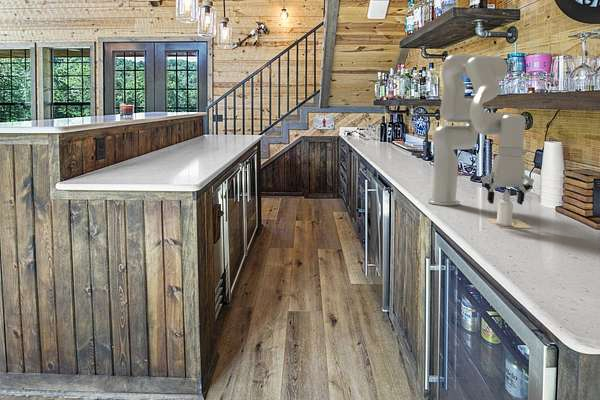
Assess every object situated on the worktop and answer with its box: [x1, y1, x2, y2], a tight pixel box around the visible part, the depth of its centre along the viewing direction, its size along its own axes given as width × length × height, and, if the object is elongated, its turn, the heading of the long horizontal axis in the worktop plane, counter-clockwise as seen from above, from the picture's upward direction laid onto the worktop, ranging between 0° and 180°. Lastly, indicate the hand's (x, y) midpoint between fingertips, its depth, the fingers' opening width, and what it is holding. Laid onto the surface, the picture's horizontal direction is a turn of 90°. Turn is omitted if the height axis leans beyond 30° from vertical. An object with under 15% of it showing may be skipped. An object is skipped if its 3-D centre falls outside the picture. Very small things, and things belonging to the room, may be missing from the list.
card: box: [486, 218, 534, 230], centre depth 205 cm, size 14×11×1 cm
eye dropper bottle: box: [496, 189, 514, 226], centre depth 200 cm, size 4×6×12 cm
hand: (505, 203), depth 200 cm, fingers open, 9 cm apart
